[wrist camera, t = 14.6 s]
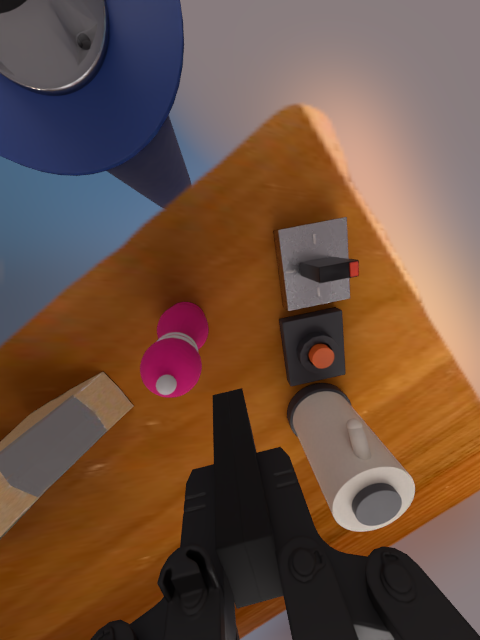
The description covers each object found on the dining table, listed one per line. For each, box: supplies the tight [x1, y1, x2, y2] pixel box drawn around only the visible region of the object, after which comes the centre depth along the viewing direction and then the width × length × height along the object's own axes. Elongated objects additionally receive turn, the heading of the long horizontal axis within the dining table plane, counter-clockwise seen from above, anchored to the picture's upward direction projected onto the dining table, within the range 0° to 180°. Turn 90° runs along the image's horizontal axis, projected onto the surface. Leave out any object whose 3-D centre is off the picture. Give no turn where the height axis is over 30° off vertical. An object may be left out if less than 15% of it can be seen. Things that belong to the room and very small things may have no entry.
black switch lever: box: [300, 257, 359, 283], centre depth 34 cm, size 5×2×7 cm, turn 100°
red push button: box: [308, 344, 334, 369], centre depth 40 cm, size 4×4×2 cm
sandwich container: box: [0, 372, 133, 537], centre depth 36 cm, size 9×15×15 cm, turn 120°
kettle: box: [287, 383, 415, 531], centre depth 40 cm, size 17×12×19 cm
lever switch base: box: [273, 217, 350, 311], centre depth 39 cm, size 12×10×3 cm
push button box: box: [279, 307, 345, 386], centre depth 43 cm, size 12×10×4 cm
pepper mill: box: [140, 302, 208, 397], centre depth 31 cm, size 7×7×20 cm
